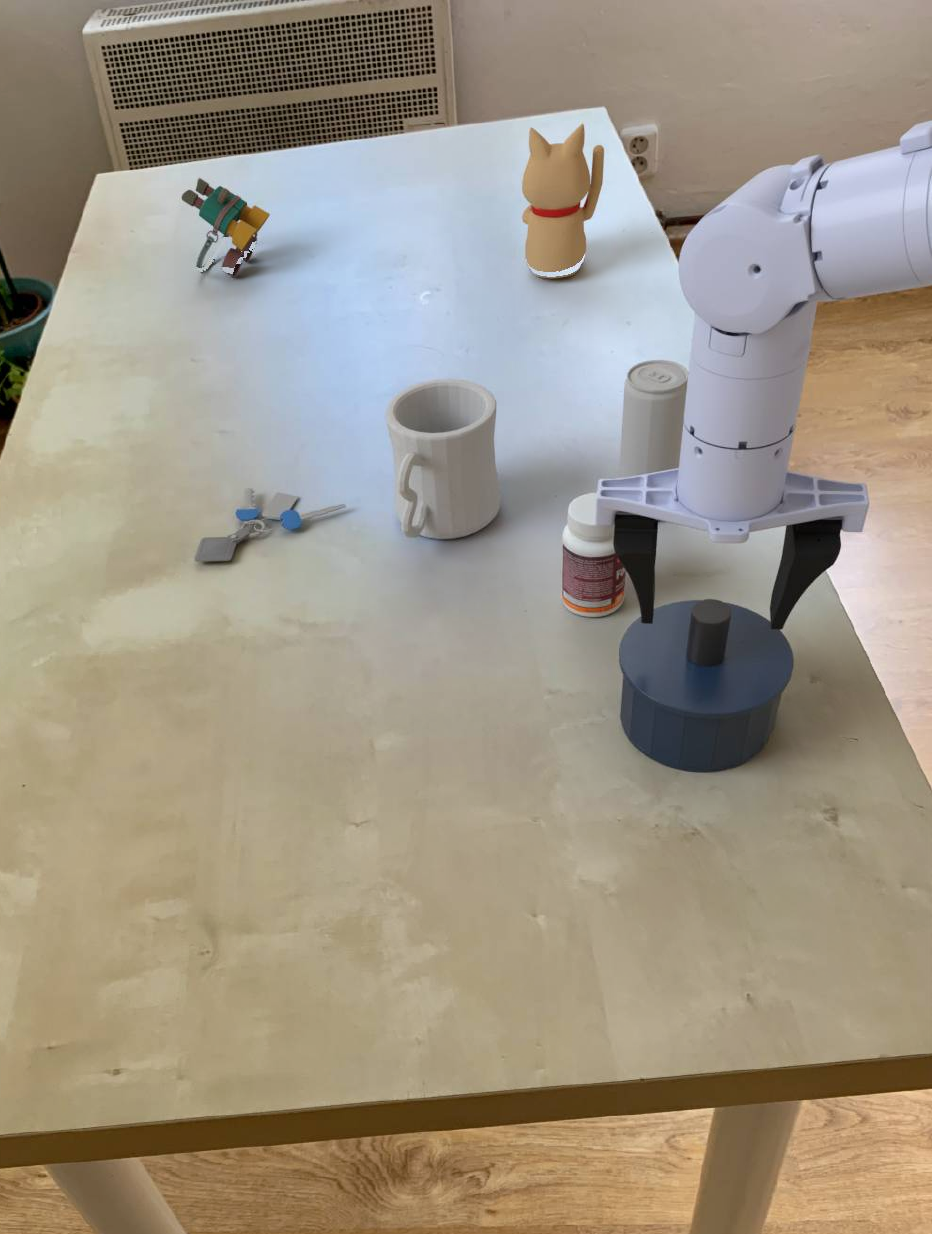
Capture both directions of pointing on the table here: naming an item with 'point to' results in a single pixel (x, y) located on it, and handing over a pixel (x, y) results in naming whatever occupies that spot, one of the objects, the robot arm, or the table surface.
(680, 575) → the table surface
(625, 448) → the beverage can
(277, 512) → the key chain
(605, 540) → the pill bottle
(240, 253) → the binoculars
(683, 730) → the pot
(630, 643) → the lid
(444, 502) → the mug
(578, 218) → the figurine
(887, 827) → the table surface
